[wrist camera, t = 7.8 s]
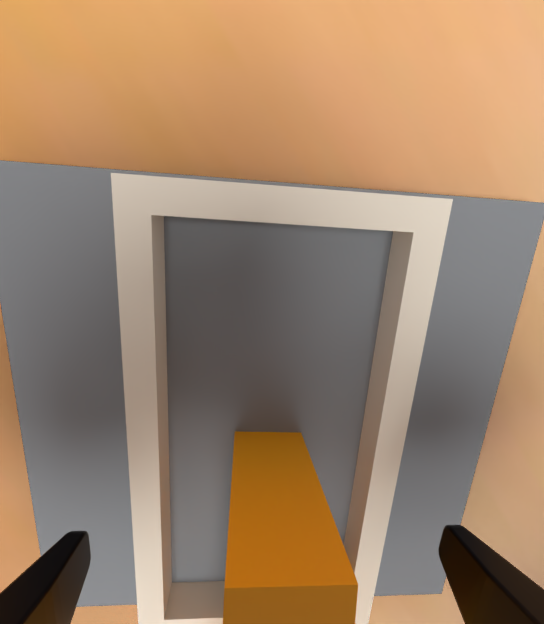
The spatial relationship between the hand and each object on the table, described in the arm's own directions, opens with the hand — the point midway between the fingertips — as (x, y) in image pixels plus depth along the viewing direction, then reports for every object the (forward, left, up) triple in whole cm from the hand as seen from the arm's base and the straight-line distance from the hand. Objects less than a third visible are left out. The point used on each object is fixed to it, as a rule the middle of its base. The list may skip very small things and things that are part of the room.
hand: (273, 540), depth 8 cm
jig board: (0, 0, -5) cm, 5 cm away
